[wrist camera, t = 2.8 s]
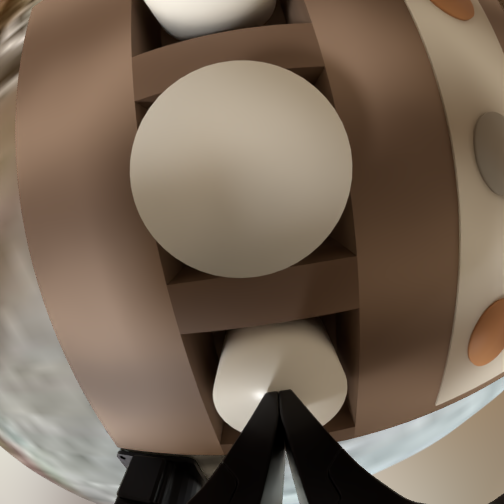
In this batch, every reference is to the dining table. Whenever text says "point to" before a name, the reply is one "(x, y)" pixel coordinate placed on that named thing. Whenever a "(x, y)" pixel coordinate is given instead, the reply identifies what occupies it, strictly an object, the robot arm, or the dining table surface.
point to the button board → (309, 268)
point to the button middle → (241, 169)
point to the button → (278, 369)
